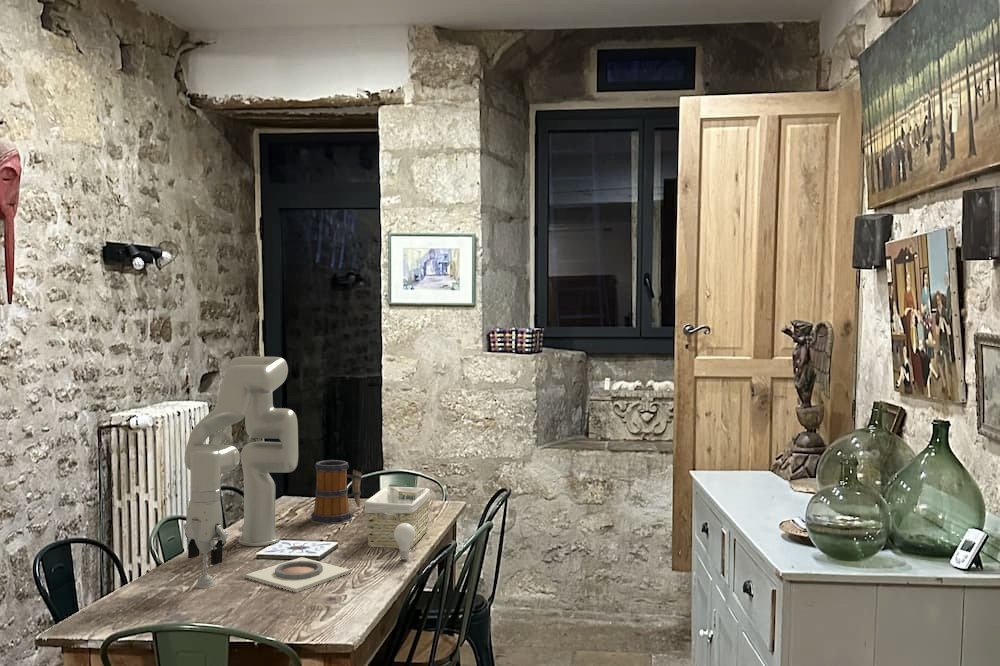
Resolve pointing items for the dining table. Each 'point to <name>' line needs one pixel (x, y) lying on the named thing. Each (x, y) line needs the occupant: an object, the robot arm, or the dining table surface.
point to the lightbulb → (404, 539)
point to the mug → (334, 492)
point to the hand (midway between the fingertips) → (205, 560)
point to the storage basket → (396, 514)
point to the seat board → (298, 574)
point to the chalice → (203, 547)
